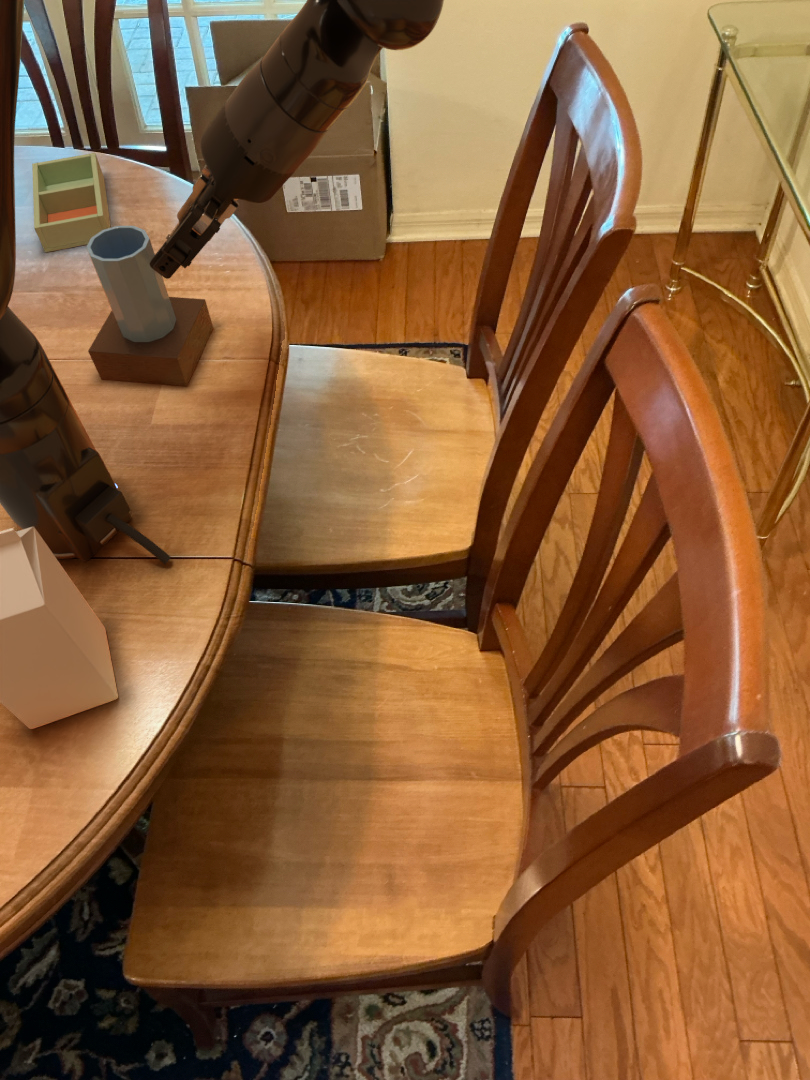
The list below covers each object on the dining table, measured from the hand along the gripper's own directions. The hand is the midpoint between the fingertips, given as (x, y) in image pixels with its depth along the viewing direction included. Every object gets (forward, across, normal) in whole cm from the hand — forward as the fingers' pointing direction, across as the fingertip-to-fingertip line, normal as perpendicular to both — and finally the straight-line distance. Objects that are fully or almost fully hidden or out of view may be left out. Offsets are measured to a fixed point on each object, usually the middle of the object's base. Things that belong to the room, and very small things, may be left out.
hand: (173, 244), depth 75 cm
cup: (+11, 0, +3) cm, 12 cm away
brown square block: (+14, 0, +6) cm, 15 cm away
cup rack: (+29, -26, -9) cm, 40 cm away
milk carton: (+10, +40, +10) cm, 43 cm away
